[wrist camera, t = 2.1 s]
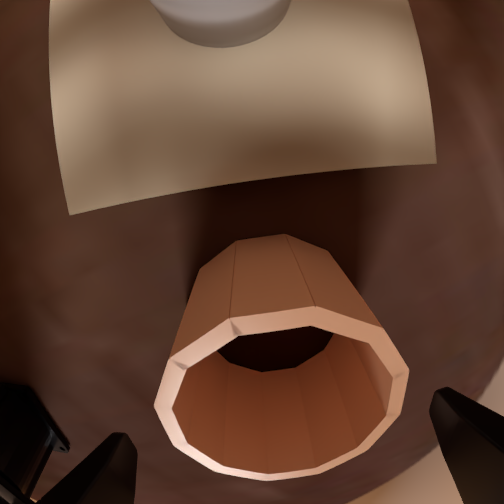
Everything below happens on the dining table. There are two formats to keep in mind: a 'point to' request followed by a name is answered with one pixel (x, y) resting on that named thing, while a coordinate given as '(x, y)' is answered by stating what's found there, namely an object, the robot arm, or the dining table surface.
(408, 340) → the dining table surface
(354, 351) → the collar sleeve
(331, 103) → the duct mount
